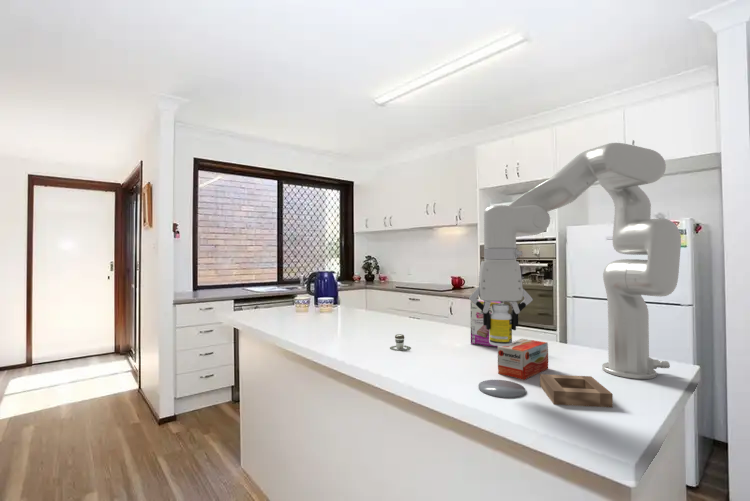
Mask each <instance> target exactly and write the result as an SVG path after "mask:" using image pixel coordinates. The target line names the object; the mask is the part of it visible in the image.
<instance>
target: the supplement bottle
mask: <svg viewBox="0 0 750 501" xmlns="http://www.w3.org/2000/svg"><path fill="white" fill-rule="evenodd" d="M492 310H493V313H491V314H490V329H489V343H490V344H491V345H494V346H511V345H512V342H513V330H512V316H511V313H509V311H510V305H509V304H505V303H504V304H492Z"/></svg>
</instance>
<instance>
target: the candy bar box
mask: <svg viewBox="0 0 750 501" xmlns="http://www.w3.org/2000/svg"><path fill="white" fill-rule="evenodd" d="M477 300H478V301H479V302H481V303H482V304H484V301H483V300H482V299H481V298H479V299H477ZM492 304H505V302H491V304H490V307H489V309H488V310H489V313H490V314H491V313H493V310H492ZM470 345H475V346H476V345H477V346H484V347H491V348H492V347H493V348H498V346H494V345H491V344H490V343H489V330H487V329H486V325H483V311H482V310H481V309H480V308H479V307H478V306H477V305H475V304H474V303H473V302H472V301H471V300H470Z"/></svg>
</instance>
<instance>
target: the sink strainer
mask: <svg viewBox="0 0 750 501" xmlns="http://www.w3.org/2000/svg"><path fill="white" fill-rule="evenodd" d="M394 338H395V339H394V340H395V345H392V346H390V347H389V350H391V351H396V352H406V351H410V350H411V349H412V347H410V346H408V345H405V335H404V334H402V333H401V334H400V333H398V334H395V335H394ZM405 348H406V349H405Z"/></svg>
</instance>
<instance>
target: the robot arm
mask: <svg viewBox="0 0 750 501" xmlns="http://www.w3.org/2000/svg"><path fill="white" fill-rule="evenodd" d="M666 166H667V164H666V161H665V158H664V157H663V155H661V153H659V152H658V151H656V150H654V149H651V148H646V147H641V146H637V145H634V144H628V143H621V142H610V143H609V142H608V143H606V144H603V145H600V146H598V147H597V146H596V147H593V148H590V149H587V150H585V151H582V152H580V153H579V154H578V155H576V156H575V157H574V158H573V159H571V160H570V161H569V162H568V163H566V165H564V166H563V167H562V168H561V169H560V170H558V171H557V172H556V173H554V174H553V175H552V176H550V178H548V179H547V180H545V181H543V182H542V183H539V184H538V185H537V186H535V187H534V188H532V189H530V190H529V191H526V192H525V193H523V194H522V195H520V196H518V198H516V199H514V201H512V202H511V203H509V204H508V205H502V204H501V205H492V206H491V205H490V206H488V207H486V208H485V209H484V211H483V232H484V233H483V238H484V239H483V241H484V242H483V247H484V248H483V253H484V254H483V255H484V256H483V260H484V261H483V260H482V261H480V265H479V274H478V287H477V288H476V289H475V290H474V291H473V293H472V294H471V295H469V297H468V299H469V301H470V302H471V301H472V302H473V303H474V304H475V305H477V306H478V307H479V308H480V309H481V310H482V311H483V325H486V329H487V330H489V329H490V313H489V310H488V309H489V307H490V304H491V302H504V303H509V304H510V306H511V312H510V315H511V316H512V331H516V330H517V327H519V314H520V313H521V312H522V310H524V309H525V308H526V307H527V306H528V305H529V304H531V302H533V301H534V300H533V298H532V297H531V295H530V294H529V293H528V292H527V291H526V290H525V289H524V288H523V280H522V270H521V265H520V262H519V261H517V259H518V258H520V257H523V251H522V250H518V249H517V237H527V236H530V237H531V236H537V235H540V234H542V233H544V232H545V231H546V230H548V228H549V226H550V223H551V217H550V214H549V212H550V211H551V212H552V211H555V210H557V209H561V208H562V207H565V206H567V205H569V204H571V203H573V202H575V201H576V200H577V199H578V198H579V197H580V196H581V195H582V194H584V192H586V191H587V190H588V189H589V188H590V187H592V186H593V185H594V184H595V183H596V182H598V183H599V184H600V186H601V187H602V188H603V189H604V190H605V191H606V192H607V194H608V195H609V196H610V197H611V199H612V202H613V205H614V206H613V207H614V216H613V227H612V228H613V230H612V247H613V250H615V251H616V252H617V253H619V254H621V255H631V256H632V255H634V256H636V255H637V256H639V255H641V256H643V255H644V256H645V255H646V256H647V259H629V258H628V259H626V258H625V259H616V260H613V261H611V262H609V263H608V264H606V266H605V267H604V269H603V273H602V278H603V283H604V288H605V292H606V300H607V301H606V302H607V344H608V347H607V348H608V353H607V354H608V357H607V358H608V362H604V363H602V364H601V365H602V370H603V371H604V372H606V373H607V374H610V375H614V376H617V377H621V378H627V379H635V380H650V379H654V378H656V377H657V371H656V370H657V368H660V369H670V366H671V365H670V362H669V361H668V360H659V359H654V358H652V357H650V335H649V334H650V327H649V321H650V320H649V316H650V315H649V308H648V305H647V303H646V301H645V299H644V297H643V296H648V297H659V298H661V297H667V296H669V295H671V294H672V293H674V291H675V289H676V288H677V285H678V281H679V276H680V275H679V273H680V263H681V262H680V260H681V249H682V248H681V247H682V237H681V232H680V230H679V228H678V226H677V225H676V224H675V223H674V222H673V221H671V219H667V218H651V211H652V209H651V208H652V206H651V205H652V204H651V200H650V198H649V196H648V195H647V194H646V192H645V191H644V190H642V188H641V187H640V186H643V185H648V184H653V183H656V182H657V181H659V180H661V178H662V177H663V176H664V175H665V172H666V168H667V167H666ZM478 297H479V299H480V300H483V301H484V304H482V303H481V302H479V301H478V300H477V298H478Z"/></svg>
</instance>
